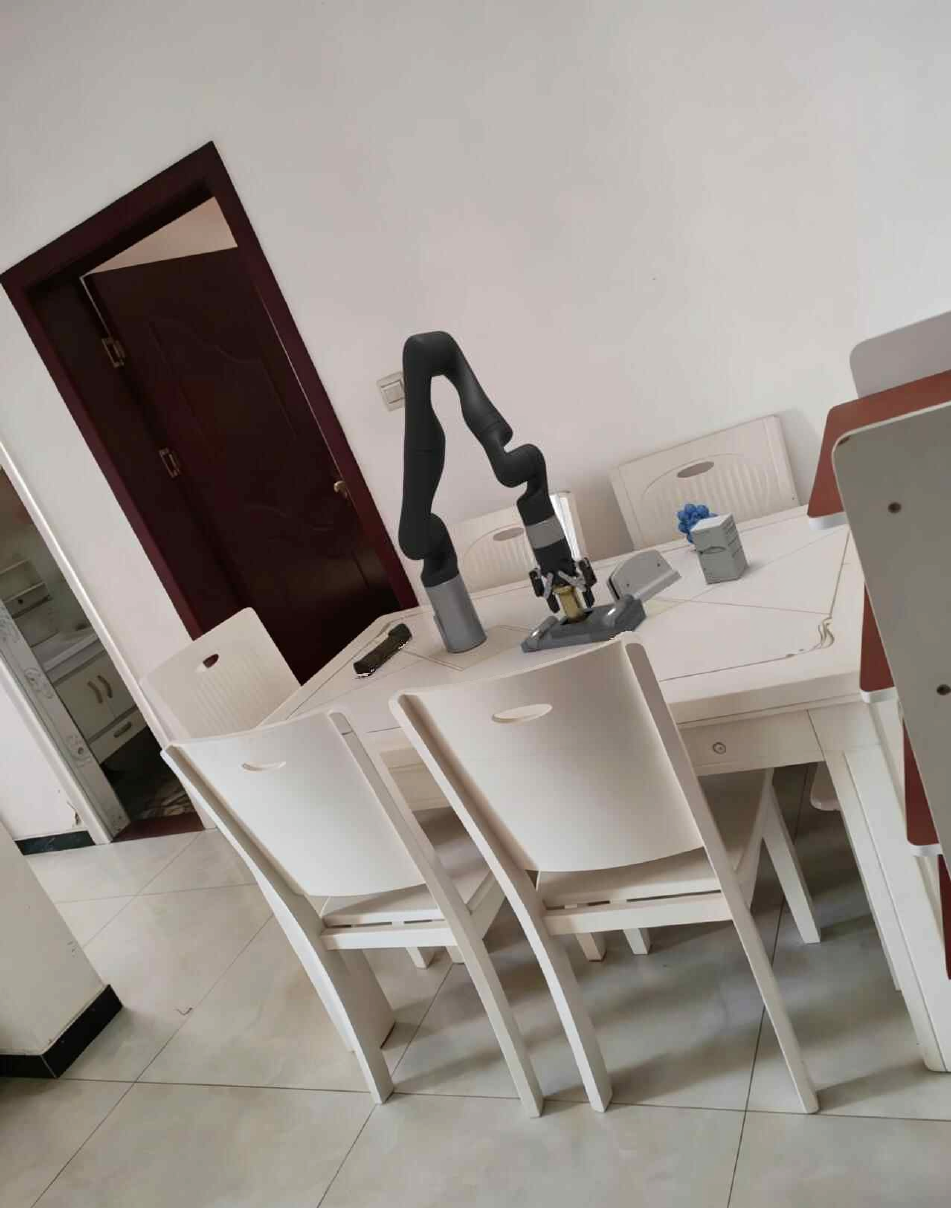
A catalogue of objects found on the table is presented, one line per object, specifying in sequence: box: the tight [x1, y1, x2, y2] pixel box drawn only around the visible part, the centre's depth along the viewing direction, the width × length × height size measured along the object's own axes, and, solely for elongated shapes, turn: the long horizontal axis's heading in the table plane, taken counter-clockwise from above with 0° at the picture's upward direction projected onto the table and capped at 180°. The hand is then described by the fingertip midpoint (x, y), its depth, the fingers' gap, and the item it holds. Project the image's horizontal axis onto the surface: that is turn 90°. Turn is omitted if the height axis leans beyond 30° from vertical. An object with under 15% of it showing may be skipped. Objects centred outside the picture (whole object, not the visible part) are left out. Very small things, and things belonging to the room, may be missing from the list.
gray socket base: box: [520, 594, 647, 653], centre depth 202 cm, size 26×11×6 cm, turn 57°
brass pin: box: [553, 583, 587, 624], centre depth 201 cm, size 5×5×12 cm
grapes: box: [676, 502, 719, 545], centre depth 224 cm, size 12×7×12 cm, turn 48°
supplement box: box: [690, 513, 749, 585], centre depth 201 cm, size 7×7×13 cm
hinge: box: [605, 549, 682, 604], centre depth 212 cm, size 17×5×10 cm, turn 127°
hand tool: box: [352, 622, 413, 675], centre depth 243 cm, size 23×5×6 cm, turn 147°
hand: (573, 609), depth 201 cm, fingers open, 8 cm apart
